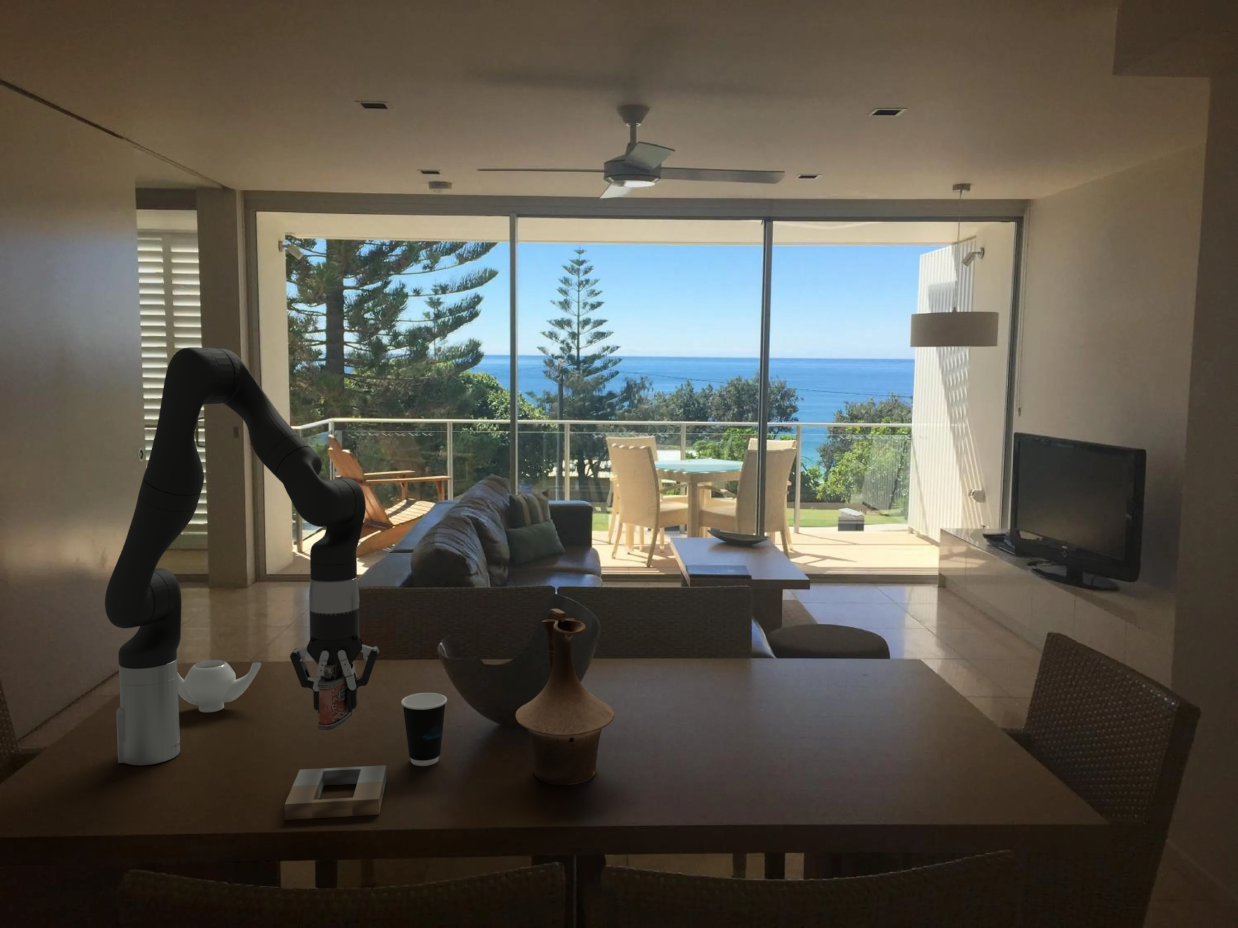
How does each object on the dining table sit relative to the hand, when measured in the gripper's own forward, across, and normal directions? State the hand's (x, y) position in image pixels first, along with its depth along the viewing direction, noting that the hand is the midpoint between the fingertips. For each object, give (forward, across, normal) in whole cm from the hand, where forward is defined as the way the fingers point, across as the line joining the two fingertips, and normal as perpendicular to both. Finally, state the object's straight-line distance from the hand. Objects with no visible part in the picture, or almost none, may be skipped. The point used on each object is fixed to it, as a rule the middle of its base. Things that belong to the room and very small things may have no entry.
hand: (336, 710), depth 154 cm
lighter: (+2, 0, 0) cm, 2 cm away
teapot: (+15, -31, +46) cm, 57 cm away
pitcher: (+15, +37, +6) cm, 40 cm away
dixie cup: (+15, +13, +14) cm, 24 cm away
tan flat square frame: (+15, 0, 0) cm, 15 cm away
